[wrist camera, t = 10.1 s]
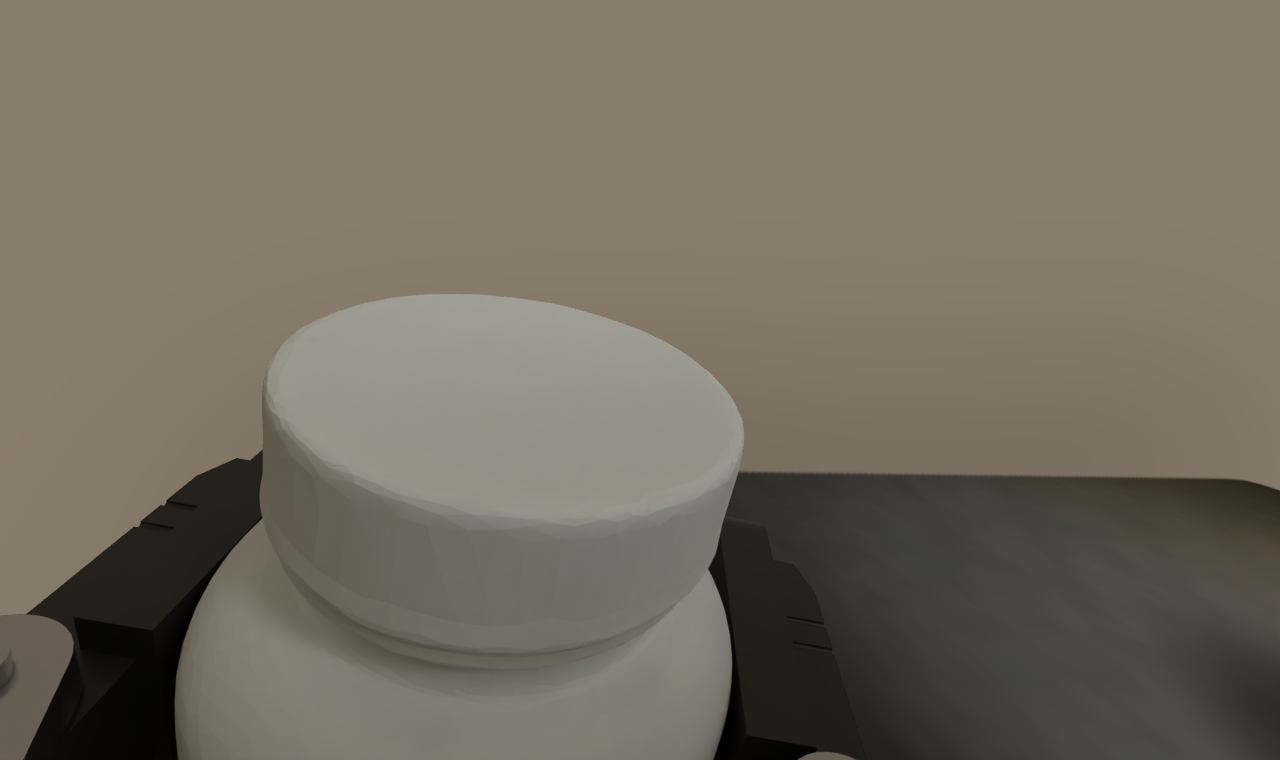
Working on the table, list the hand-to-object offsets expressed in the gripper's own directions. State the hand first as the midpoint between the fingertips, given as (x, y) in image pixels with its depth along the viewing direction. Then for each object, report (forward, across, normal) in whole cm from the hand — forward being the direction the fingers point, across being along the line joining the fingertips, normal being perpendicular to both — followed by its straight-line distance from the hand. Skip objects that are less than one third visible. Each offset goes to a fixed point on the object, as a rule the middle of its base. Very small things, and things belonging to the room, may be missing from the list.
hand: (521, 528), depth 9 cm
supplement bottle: (-3, 0, +6) cm, 7 cm away
